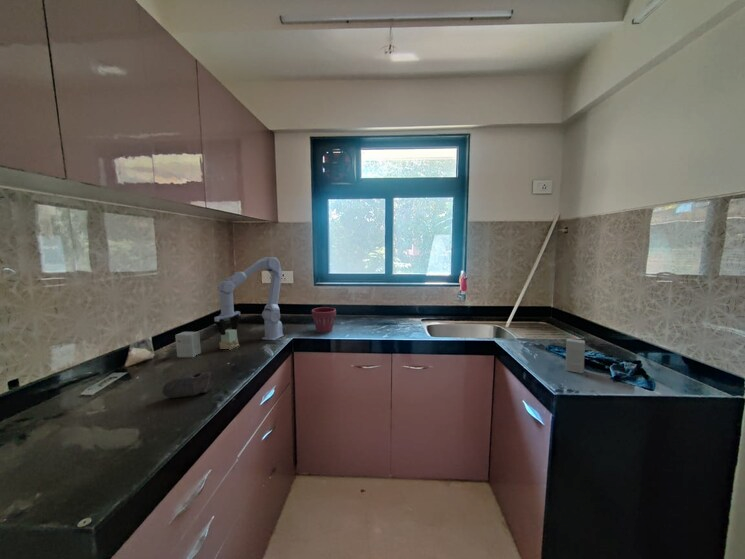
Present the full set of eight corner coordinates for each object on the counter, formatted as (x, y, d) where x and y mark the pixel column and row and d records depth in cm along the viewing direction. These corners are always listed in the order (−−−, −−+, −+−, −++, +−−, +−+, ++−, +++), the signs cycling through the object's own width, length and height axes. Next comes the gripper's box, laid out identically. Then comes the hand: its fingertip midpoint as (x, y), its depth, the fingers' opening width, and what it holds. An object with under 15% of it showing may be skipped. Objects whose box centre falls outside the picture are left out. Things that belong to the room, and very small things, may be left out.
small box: (201, 353, 141) (199, 331, 140) (193, 357, 135) (191, 335, 134) (185, 353, 142) (183, 331, 141) (176, 357, 136) (174, 334, 135)
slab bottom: (229, 346, 152) (229, 342, 152) (239, 347, 150) (239, 343, 150) (220, 350, 146) (220, 346, 146) (230, 351, 145) (230, 347, 144)
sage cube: (229, 338, 151) (228, 328, 150) (237, 339, 149) (236, 329, 149) (221, 341, 146) (220, 331, 146) (229, 342, 145) (228, 332, 144)
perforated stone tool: (160, 403, 96) (158, 382, 95) (165, 395, 100) (163, 375, 100) (213, 394, 101) (212, 374, 100) (215, 387, 106) (214, 368, 105)
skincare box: (583, 370, 117) (585, 340, 116) (583, 374, 114) (585, 343, 113) (565, 366, 121) (566, 337, 120) (564, 370, 117) (566, 340, 116)
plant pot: (334, 334, 171) (334, 311, 169) (310, 334, 171) (309, 312, 169) (337, 327, 185) (337, 307, 184) (314, 327, 185) (314, 307, 183)
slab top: (226, 342, 151) (226, 338, 151) (238, 343, 151) (237, 338, 151) (219, 346, 145) (219, 342, 145) (231, 347, 145) (231, 342, 145)
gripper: (231, 302, 155) (233, 328, 156) (208, 307, 141) (210, 336, 142) (242, 303, 152) (244, 329, 154) (220, 308, 139) (222, 337, 140)
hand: (228, 332), depth 148 cm, fingers open, 7 cm apart
